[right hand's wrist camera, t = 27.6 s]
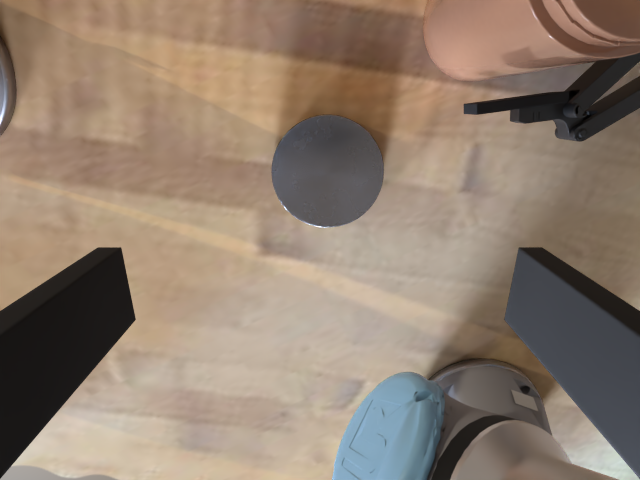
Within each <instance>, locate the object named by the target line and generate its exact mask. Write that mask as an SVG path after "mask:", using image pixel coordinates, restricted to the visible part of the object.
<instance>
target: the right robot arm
mask: <svg viewBox="0 0 640 480" xmlns="http://www.w3.org/2000/svg"><path fill="white" fill-rule="evenodd" d="M15 102H16V80H15V74H14V69H13V65H12V62H11V59H10V56H9V53H8V51H7V48H6V46H5V44H4V42H3V40H2V38H1V36H0V136H1V134H2V133H3V132H4V131H5V129H6V128H7V126H8V124H9V122H10V121H11V118H12V115H13V112H14V108H15ZM135 320H136V319H135V314H134V309H133V304H132V299H131V294H130V289H129V284H128V279H127V274H126V269H125V264H124V259H123V254H122V249H121V248H97V249H95V250H93V251H92V252H90V253H89V254H87V255H86V256H84V257H83V258H81V259H80V260H78V261H77V262H75V263H74V264H72V265H70V266H69V267H67V268H66V269H64V270H63V271H61V272H60V273H58V274H57V275H55V276H54V277H52V278H50V279H49V280H47V281H46V282H44V283H43V284H41V285H40V286H38V287H37V288H35V289H34V290H32V291H30V292H29V293H27V294H26V295H24V296H23V297H21V298H20V299H18V300H17V301H15V302H14V303H12V304H11V305H9V306H7V307H6V308H4V309H3V310H1V311H0V478H1V477H2V476H3V475H4V474H5V473H6V471H7V470H8V469H9V468H10V467H11V465H12V464H13V463H14V462H15V461H16V460H17V458H18V457H19V456H20V455H21V454H22V453H23V451H24V450H25V449H26V448H27V447H28V446H29V444H30V443H31V442H32V441H33V440H34V438H35V437H36V436H37V435H38V434H39V433H40V431H41V430H42V429H43V428H44V427H45V426H46V424H47V423H48V422H49V421H50V420H51V418H52V417H53V416H54V415H55V414H56V413H57V411H58V410H59V409H60V408H61V407H62V406H63V404H64V403H65V402H66V401H67V400H68V399H69V397H70V396H71V395H72V394H73V393H74V391H75V390H76V389H77V388H78V387H79V386H80V384H81V383H82V382H83V381H84V380H85V379H86V377H87V376H88V375H89V374H90V373H91V372H92V370H93V369H94V368H95V367H96V366H97V364H98V363H99V362H100V361H101V360H102V359H103V357H104V356H105V355H106V354H107V353H108V352H109V350H110V349H111V348H112V347H113V346H114V344H115V343H116V342H117V341H118V340H119V339H120V337H121V336H122V335H123V334H124V333H125V332H126V330H127V329H128V328H129V327H130V326H131V325H132V323H133V322H134V321H135ZM504 320H505V321H506V322H507V323H508V325H509V326H510V327H511V328H512V329H513V330H514V332H515V333H516V334H517V335H518V336H519V337H520V339H521V340H522V341H523V342H524V343H525V344H526V346H527V347H528V348H529V349H530V350H531V352H532V353H533V354H534V355H535V356H536V357H537V359H538V360H539V361H540V362H541V363H542V364H543V366H544V367H545V368H546V369H547V370H548V372H549V373H550V374H551V375H552V376H553V377H554V379H555V380H556V381H557V382H558V383H559V384H560V386H561V387H562V388H563V389H564V390H565V391H566V393H567V394H568V395H569V396H570V397H571V399H572V400H573V401H574V402H575V403H576V404H577V406H578V407H579V408H580V409H581V410H582V411H583V413H584V414H585V415H586V416H587V417H588V418H589V420H590V421H591V422H592V423H593V424H594V426H595V427H596V428H597V429H598V430H599V431H600V433H601V434H602V435H603V436H604V437H605V438H606V440H607V441H608V442H609V443H610V444H611V446H612V447H613V448H614V449H615V450H616V451H617V453H618V454H619V455H620V456H621V457H622V458H623V460H624V461H625V462H626V463H627V464H628V465H629V467H630V468H631V469H632V470H633V471H634V473H635V474H636V475H637V476H638V477H639V478H640V311H639V310H637V309H636V308H634V307H633V306H631V305H629V304H628V303H626V302H625V301H623V300H622V299H620V298H619V297H617V296H616V295H614V294H613V293H611V292H610V291H608V290H606V289H605V288H603V287H602V286H600V285H599V284H597V283H596V282H594V281H593V280H591V279H590V278H588V277H586V276H585V275H583V274H582V273H580V272H579V271H577V270H576V269H574V268H573V267H571V266H570V265H568V264H566V263H565V262H563V261H562V260H560V259H559V258H557V257H556V256H554V255H553V254H551V253H550V252H548V251H547V250H545V249H543V248H519V249H518V254H517V259H516V264H515V269H514V274H513V279H512V284H511V289H510V294H509V299H508V304H507V309H506V314H505V319H504Z"/></svg>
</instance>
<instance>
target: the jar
mask: <svg viewBox="0 0 640 480" xmlns="http://www.w3.org/2000/svg"><path fill="white" fill-rule="evenodd" d="M423 33H424V40H425V45H426V48H427V51H428V53H429V55H430V57H431V59H432V60H433V62H434V63H435V64H436V66H437V67H438V68H439V69H440V70H441V71H443V72H444V73H445V74H447V75H449V76H450V77H452V78H455V79H458V80H462V81H472V82H473V81H482V80H488V79H494V78H500V77H506V76H512V75H518V74H524V73H530V72H536V71H542V70H548V69H554V68H560V67H566V66H572V65H578V64H584V63H590V62H597V61H603V60H609V59H615V58H621V57H625V56H630V55H634V54H637V53H640V0H428V3H427V5H426V9H425V13H424V21H423Z"/></svg>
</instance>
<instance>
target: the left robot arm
mask: <svg viewBox="0 0 640 480" xmlns="http://www.w3.org/2000/svg"><path fill="white" fill-rule="evenodd" d="M639 61H640V53H637V54H634V55H630V56H625V57H621V58H615V59H609V60H603V61H597V62H595V63H594V64H593V65H592V66H591V67H590V68H589V69H588V70H587V71H586V72H585V73H584V74H583V75H581V76H580V77H579V78H578V79H577V80H576V81H575V82H574V83H573V84H572V85H571V86H570V87H569V88H568V89H567V90H566V91H564V92H549V93H541V94H534V95H526V96H519V97H512V98H504V99H497V100H490V101H482V102H475V103H468V104H464V114H475V115H478V114H485V113H493V112H500V111H507V110H510V121H512V122H516V123H533V122H540V121H548V120H553V121H554V122H555V124H556V127H557V128H556V130H555V135H556V137H557V138H559V139H565V140H573V141H584V140H586V139H588V138H589V137H591V136H593V135H594V134H596V133H598V132H599V131H601V130H603V129H605V128H606V127H608V126H610V125H611V124H613V123H615V122H616V121H618V120H620V119H621V118H623V117H625V116H627V115H628V114H630V113H632V112H633V111H635V110H637V109H638V108H640V76H639V77H637V78H636V79H634V80H633V81H631V82H629V83H628V84H626V85H624V86H623V87H621V88H619V89H618V90H616V91H614V92H613V93H611V94H609V95H608V96H606V97H605V98H603V99H601V100H600V101H598V102H596V103H595V104H593V103H594V102H595V101H596V100H597V99H599V98H600V97H601V96H602V95H603V94H604V93H605V92H606V91H607V90H608V89H610V88H611V87H612V86H613V85H614V84H615V83H616V82H617V81H618V80H619V79H621V78H622V77H623V76H624V75H625V74H626V73H627V72H628V71H629V70H630V69H631V68H633V67H634V66H635V65H636V64H637V63H638V62H639ZM592 104H593V105H592ZM332 480H618V479H615V478H612V477H609V476H606V475H603V474H600V473H598V472H595V471H592V470H589V469H586V468H583V467H580V466H577V465H574V464H572V463H571V461H570V459H569V458H568V456H567V454H566V452H565V451H564V450H563V448H562V447H561V445H560V444H559V443H558V442H557V441H556V440H555V439H554V438H553V437H552V433H551V430H550V426H549V423H548V419H547V415H546V412H545V408H544V405H543V402H542V399H541V397H540V395H539V393H538V391H537V389H536V388H535V387H534V385H533V384H532V382H531V381H530V380H529V378H528V377H527V376H526V375H525V374H524V373H523V372H522V371H520V370H519V369H518V368H516V367H514V366H512V365H510V364H508V363H505V362H502V361H498V360H492V359H473V360H466V361H462V362H459V363H455V364H453V365H450V366H448V367H446V368H444V369H442V370H441V371H439V372H437V373H436V374H435V375H433V376H432V377H431V378H430V379H429V380H427V379H426V378H424V377H423V376H421V375H419V374H417V373H413V372H403V373H398V374H395V375H393V376H391V377H389V378H387V379H385V380H384V381H382V382H381V383H380V384H379V385H377V386H376V388H375V389H374V390H373V391H372V392H371V393H369V395H368V396H367V397H366V398H365V399H364V401H363V402H362V403H361V405H360V406H359V407H358V409H357V410H356V412H355V414H354V415H353V417H352V419H351V421H350V423H349V425H348V427H347V429H346V431H345V433H344V435H343V438H342V440H341V443H340V446H339V449H338V452H337V455H336V460H335V464H334V473H333V478H332Z"/></svg>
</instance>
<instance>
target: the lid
mask: <svg viewBox="0 0 640 480" xmlns="http://www.w3.org/2000/svg"><path fill="white" fill-rule="evenodd" d="M383 175H384V167H383V160H382V155H381V152H380V150H379V147H378V145H377V143H376V142H375V140H374V139H373V137H372V136H371V135H370V134H369V133H368V132H367V130H365V129H364V128H363V127H362V126H361V125H359V124H357V123H356V122H354V121H352V120H350V119H348V118H345V117H342V116H338V115H318V116H314V117H310V118H308V119H306V120H303V121H302V122H300V123H298V124H297V125H295V126H294V127H293V128H292V129H290V130H289V131H288V132H287V133H286V135H285V136H284V137H283V138H282V140H281V141H280V143H279V145H278V147H277V149H276V151H275V154H274V157H273V162H272V181H273V186H274V189H275V192H276V194H277V196H278V198H279V200H280V202H281V203H282V205H283V206H284V207H285V208H286V209H287V210H288V211H289V212H290V213H291V214H292V215H293V216H295V217H296V218H297V219H299V220H301V221H303V222H305V223H307V224H310V225H314V226H318V227H337V226H341V225H345V224H347V223H350V222H352V221H354V220H356V219H358V218H359V217H360V216H362V215H363V214H364V213H365V212H366V211H367V210H368V209H369V208H370V207H371V206H372V205H373V203H374V202H375V200H376V198H377V196H378V194H379V192H380V189H381V186H382V182H383Z"/></svg>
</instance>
